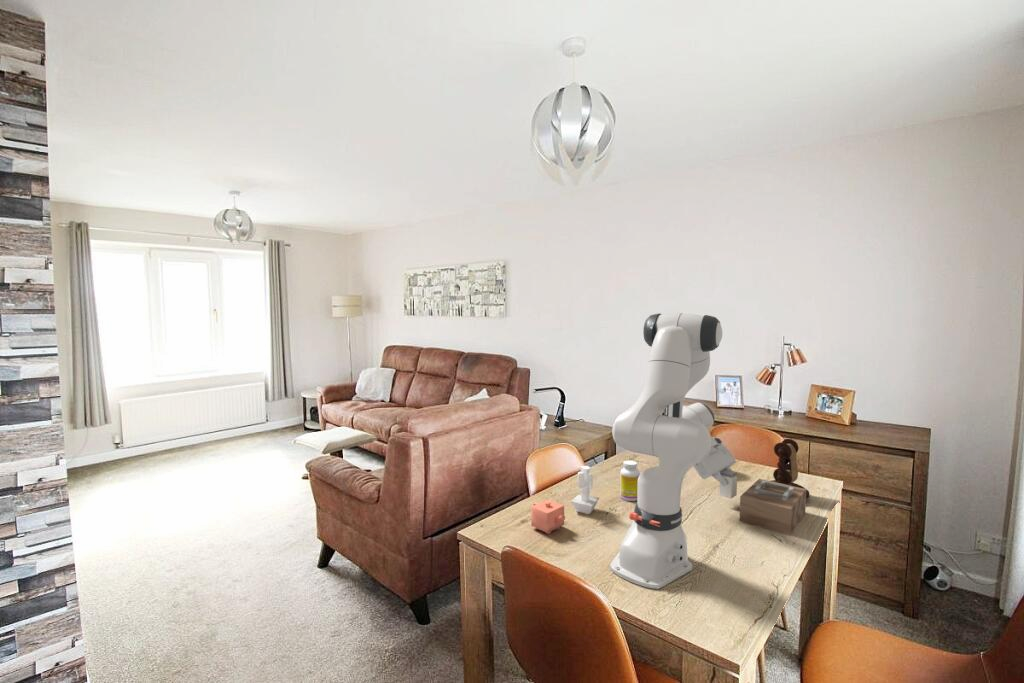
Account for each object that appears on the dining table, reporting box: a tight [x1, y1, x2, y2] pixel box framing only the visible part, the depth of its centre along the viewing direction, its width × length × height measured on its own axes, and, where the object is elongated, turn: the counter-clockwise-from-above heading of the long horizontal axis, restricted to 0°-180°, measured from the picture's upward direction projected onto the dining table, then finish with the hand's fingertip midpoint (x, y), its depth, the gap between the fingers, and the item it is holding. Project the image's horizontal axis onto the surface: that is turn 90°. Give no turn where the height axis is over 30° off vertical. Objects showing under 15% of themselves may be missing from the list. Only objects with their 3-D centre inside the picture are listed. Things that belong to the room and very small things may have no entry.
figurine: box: [570, 465, 600, 515], centre depth 155 cm, size 7×9×15 cm
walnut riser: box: [739, 478, 807, 536], centre depth 149 cm, size 20×14×10 cm
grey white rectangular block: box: [718, 469, 738, 499], centre depth 157 cm, size 4×4×8 cm
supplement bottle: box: [619, 460, 641, 502], centre depth 165 cm, size 7×7×13 cm
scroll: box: [770, 438, 810, 500], centre depth 165 cm, size 15×15×20 cm
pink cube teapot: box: [530, 499, 566, 535], centre depth 143 cm, size 8×12×8 cm, turn 45°
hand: (730, 482), depth 157 cm, fingers closed on grey white rectangular block, 4 cm apart
